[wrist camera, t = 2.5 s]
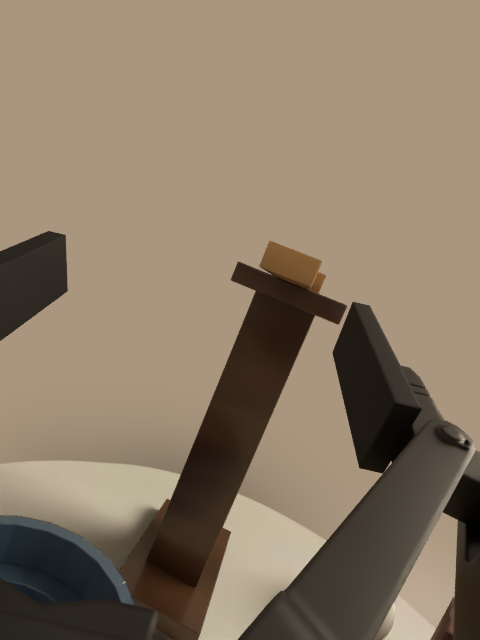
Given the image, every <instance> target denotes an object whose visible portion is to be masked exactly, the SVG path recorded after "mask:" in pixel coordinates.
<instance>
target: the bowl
mask: <svg viewBox="0 0 480 640" xmlns="http://www.w3.org/2000/svg"><path fill="white" fill-rule="evenodd" d="M0 578H2V579H3V580H5V581H6V582H8V583H9V584H11V585H12V586H14V587H15V588H17V589H18V590H20V591H21V592H23V593H24V594H26V595H28V596H29V597H31V598H32V599H34V600H35V601H37V602H39V603H44V604H48V603H60V602H72V601H85V600H97V599H109V600H113V601H118V602H122V603H126V604H131V605H134V602H133V600H132V597H131V594H130V592H129V589H128V587H127V584H126V583H125V580H124V579H123V577H122V576H121V575H120V573H119V572H118V571H117V569H116V568H115V567H114V565H113V564H112V563H111V561H110V560H109V559H108V557H107V556H106V555H105V554H103V553H102V552H101V551H100V550H98V549H97V548H96V547H95V546H93V545H92V544H91V543H90V542H88V541H87V540H86V539H84V538H83V537H81V536H80V535H78V534H75V533H73V532H71V531H69V530H67V529H64V528H62V527H60V526H58V525H56V524H52V523H50V522H45V521H41V520H36V519H31V518H27V517H22V516H19V517H18V516H4V515H0Z"/></svg>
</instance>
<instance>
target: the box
mask: <svg viewBox="0 0 480 640" xmlns="http://www.w3.org/2000/svg"><path fill="white" fill-rule="evenodd" d="M454 604H455V597H453V599H452V601H451V603H450V605H449V607H448V608H447V610H446V612H445V614H444V616H443V617H442V619H441V621H440V623H439V625H438V627H437V629H436V630H435V632H434V634H433V636H432V638H431V640H453V628H454Z"/></svg>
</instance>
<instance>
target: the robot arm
mask: <svg viewBox="0 0 480 640" xmlns="http://www.w3.org/2000/svg"><path fill="white" fill-rule="evenodd" d="M67 291H68V290H67V262H66V236H65V235H63V234H59V233H54V232H50V231H48V232H46V233H43V234H40V235H38V236H36V237H33V238H31V239H29V240H26V241H24V242H22V243H19V244H17V245H14V246H12V247H10V248H8V249H5V250H3V251H0V341H1V340H2V339H4V338H5V337H6V336H8V335H9V334H10V333H12V332H13V331H14V330H16V329H17V328H18V327H20V326H21V325H23V324H24V323H25V322H27V321H28V320H29V319H31V318H32V317H33V316H35V315H36V314H37V313H38V312H40V311H41V310H43V309H44V308H45V307H47V306H48V305H50V304H51V303H52V302H54V301H55V300H56V299H58V298H59V297H60V296H62V295H63V294H64V293H66V292H67ZM333 357H334V361H335V365H336V369H337V374H338V378H339V382H340V387H341V391H342V395H343V399H344V404H345V408H346V413H347V417H348V421H349V426H350V430H351V434H352V438H353V443H354V447H355V451H356V456H357V460H358V464H359V468H361V469H366V470H370V471H375V472H379V473H383V475H382V476H381V477H380V478H379V479H378V481H377V482H376V483H375V484H374V486H372V488H371V489H370V490H369V491H368V492H367V494H366V495H365V496H364V497H363V499H362V500H361V501H360V502H359V503H358V504H357V506H356V507H355V508H354V509H353V510H352V512H351V513H350V514H349V515H348V516H347V518H346V519H345V520H344V521H343V522H342V523H341V525H340V526H339V527H338V528H337V530H336V531H335V532H334V533H333V534H332V535H331V537H330V538H329V539H328V540H327V541H326V542H325V544H324V545H323V546H322V547H321V548H320V550H319V551H318V552H317V553H316V554H315V556H314V557H313V558H312V559H311V560H310V562H309V563H308V564H307V565H306V566H305V567H304V569H303V570H302V571H301V572H300V573H299V575H298V576H297V577H296V578H295V579H294V581H293V582H292V583H291V584H290V585H289V586H288V587H287V589H285V590H284V591H280V592H279V593H278V594H277V595H276V596H275V597H274V598H273V599H272V600H271V601H270V603H269V604H268V605H267V606H266V607H265V608H264V609H263V611H262V612H261V613H260V614H259V615H258V616H257V618H256V619H255V620H254V621H253V622H252V623H251V625H250V626H249V627H248V628H247V629H246V630H245V632H244V633H243V634H242V635H241V636H240V637H239V639H238V640H374V638H375V637H376V635H377V633H378V631H379V629H380V627H381V625H382V624H383V622H384V620H385V618H386V616H387V614H388V612H389V611H390V609H391V607H392V605H393V603H394V601H395V599H396V598H397V596H398V594H399V592H400V590H401V588H402V586H403V585H404V583H405V581H406V579H407V577H408V575H409V573H410V572H411V570H412V568H413V566H414V564H415V562H416V560H417V559H418V556H419V555H420V553H421V551H422V549H423V547H424V545H425V544H426V542H427V540H428V538H429V536H430V534H431V532H432V530H433V528H434V527H435V525H436V523H437V521H438V519H439V517H440V516H441V513H442V512H443V513H445V514H447V515H449V516H451V517H453V518H455V519H457V520H458V532H457V555H456V579H455V604H454V628H453V640H480V452H478V451H476V450H475V445H474V443H473V441H472V439H471V438H470V437H469V436H468V435H467V434H466V433H465V432H464V431H463V430H461V429H460V428H459V427H457V426H455V425H453V424H451V423H450V422H447V421H444V419H443V417H442V415H441V414H440V412H439V410H438V408H437V407H436V405H435V403H434V401H433V400H432V398H431V397H430V394H429V393H428V391H427V389H425V385H424V384H423V382H422V380H421V379H420V377H419V376H418V375H417V374H416V373H415V372H414V371H413V370H412V369H411V368H408V367H404V366H400V364H399V362H398V360H397V358H396V356H395V354H394V352H393V350H392V348H391V346H390V345H389V343H388V341H387V339H386V337H385V335H384V333H383V331H382V329H381V327H380V325H379V323H378V321H377V319H376V317H375V315H374V313H373V311H372V309H371V307H370V306H369V305H365V304H360V303H356V302H353V303H352V305H351V308H350V310H349V313H348V315H347V318H346V320H345V323H344V325H343V328H342V330H341V333H340V335H339V338H338V340H337V343H336V345H335V347H334V351H333ZM390 461H392V464H391V465H390V466H389V467H388V469H387V470H386V468H387V466H388V464H389V463H390ZM385 470H386V471H385ZM384 471H385V472H384ZM158 614H159V611H157V610H153V609H149V608H144V607H140V606H135V605H131V604H126V603H122V602H118V601H113V600H109V599H97V600H85V601H72V602H60V603H48V604H44V603H39V602H37V601H35V600H34V599H32V598H31V597H29V596H28V595H26V594H24V593H23V592H21V591H20V590H18V589H17V588H15V587H14V586H12V585H11V584H9V583H8V582H6V581H5V580H3V579H2V578H0V640H172V639H171V638H170V637H169V636H168V635H166V634H165V633H163V632H162V631H160V630H159V629H157V628H156V624H157V619H158Z"/></svg>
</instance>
